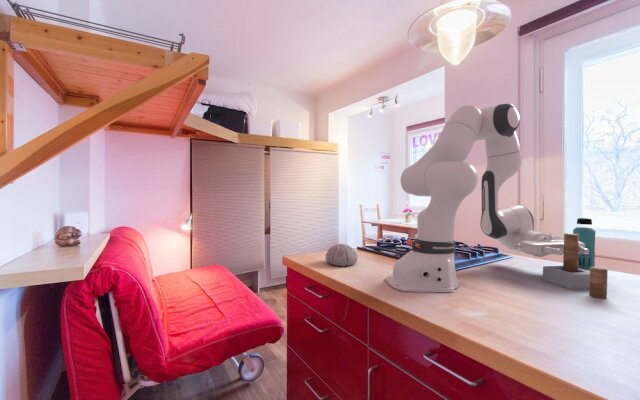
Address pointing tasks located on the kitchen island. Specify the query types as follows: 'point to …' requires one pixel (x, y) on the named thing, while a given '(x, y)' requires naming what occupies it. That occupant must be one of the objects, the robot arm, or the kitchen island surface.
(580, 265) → the beverage bottle
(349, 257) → the sea urchin shell
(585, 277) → the socket block
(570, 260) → the long dowel
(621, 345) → the kitchen island surface
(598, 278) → the short dowel
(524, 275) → the kitchen island surface
